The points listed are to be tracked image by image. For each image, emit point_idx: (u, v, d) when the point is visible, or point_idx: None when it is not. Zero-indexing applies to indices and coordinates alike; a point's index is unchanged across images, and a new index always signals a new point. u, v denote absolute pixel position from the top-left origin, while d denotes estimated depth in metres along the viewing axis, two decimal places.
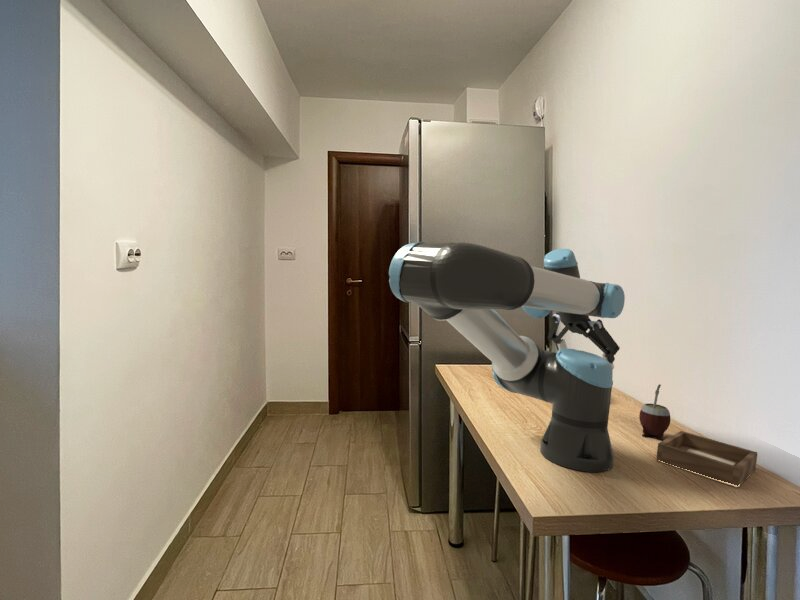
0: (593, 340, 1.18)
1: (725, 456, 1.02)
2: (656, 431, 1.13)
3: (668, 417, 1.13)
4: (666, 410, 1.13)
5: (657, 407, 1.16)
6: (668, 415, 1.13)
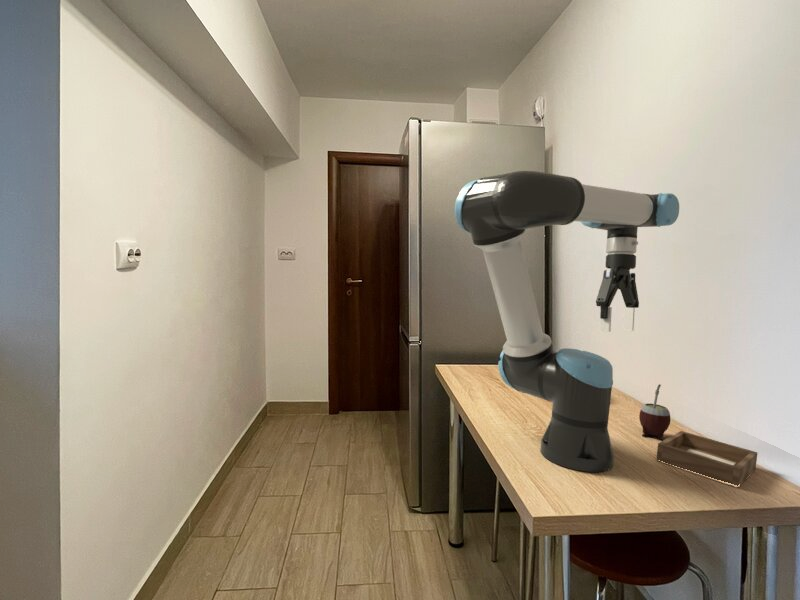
0: None
1: (725, 456, 1.02)
2: (656, 431, 1.13)
3: (668, 417, 1.13)
4: (666, 410, 1.13)
5: (657, 407, 1.16)
6: (668, 415, 1.13)
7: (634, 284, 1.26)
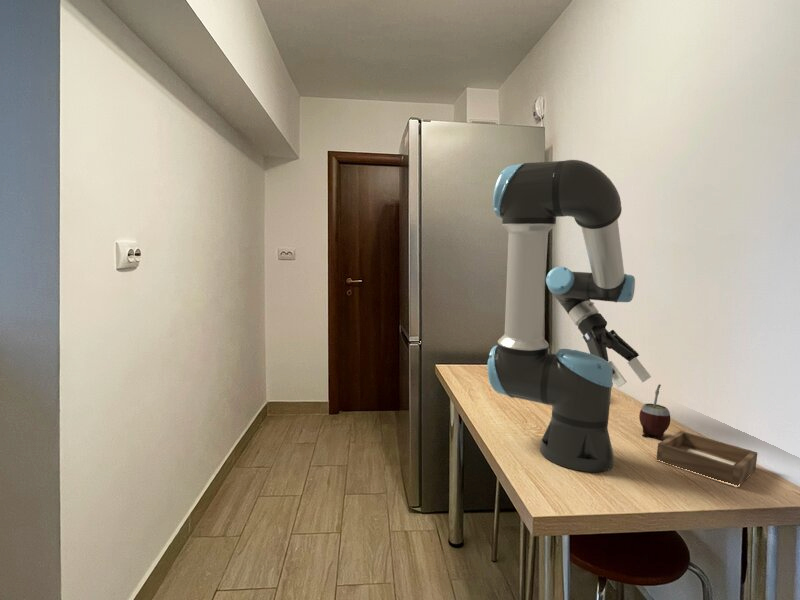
0: None
1: (725, 456, 1.02)
2: (656, 431, 1.13)
3: (668, 417, 1.13)
4: (666, 410, 1.13)
5: (657, 407, 1.16)
6: (668, 415, 1.13)
7: (619, 338, 1.30)
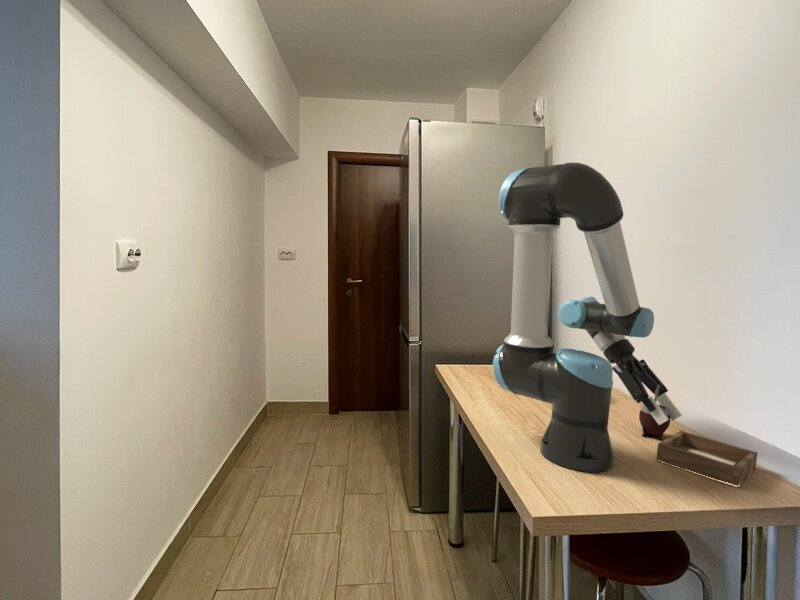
0: None
1: (725, 456, 1.02)
2: (656, 431, 1.13)
3: (668, 417, 1.13)
4: (666, 410, 1.13)
5: None
6: (668, 415, 1.13)
7: (648, 369, 1.22)
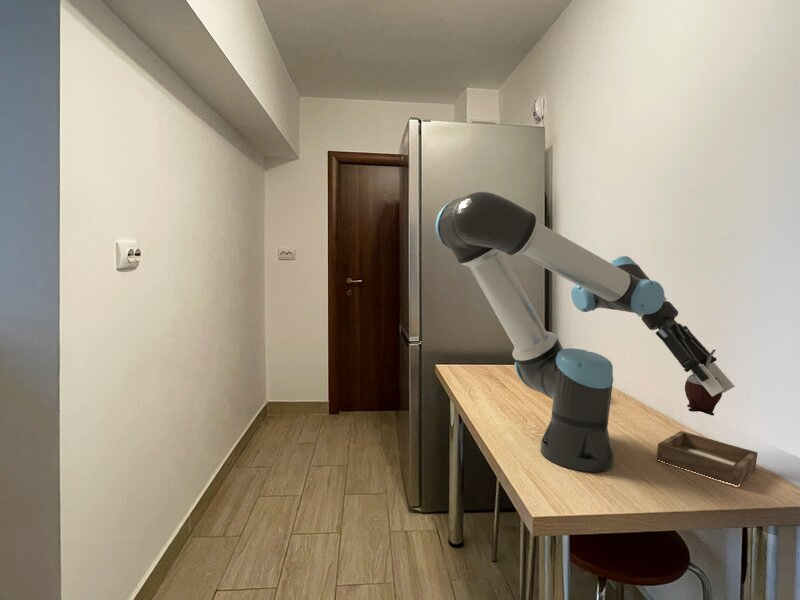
0: None
1: (725, 456, 1.02)
2: (706, 404, 0.98)
3: None
4: (718, 380, 0.99)
5: None
6: None
7: (693, 336, 1.08)
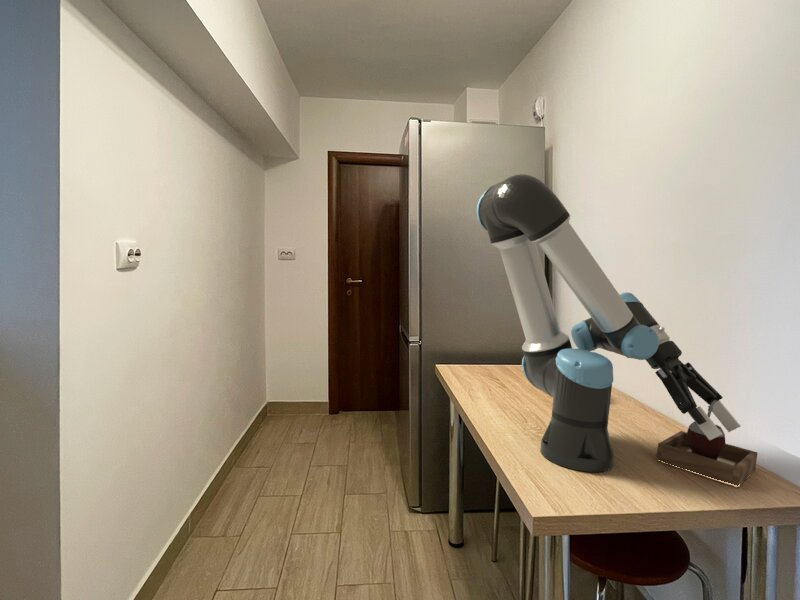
0: None
1: (725, 456, 1.02)
2: (709, 454, 0.96)
3: (723, 438, 0.96)
4: (720, 430, 0.96)
5: None
6: (723, 436, 0.96)
7: (697, 373, 1.06)
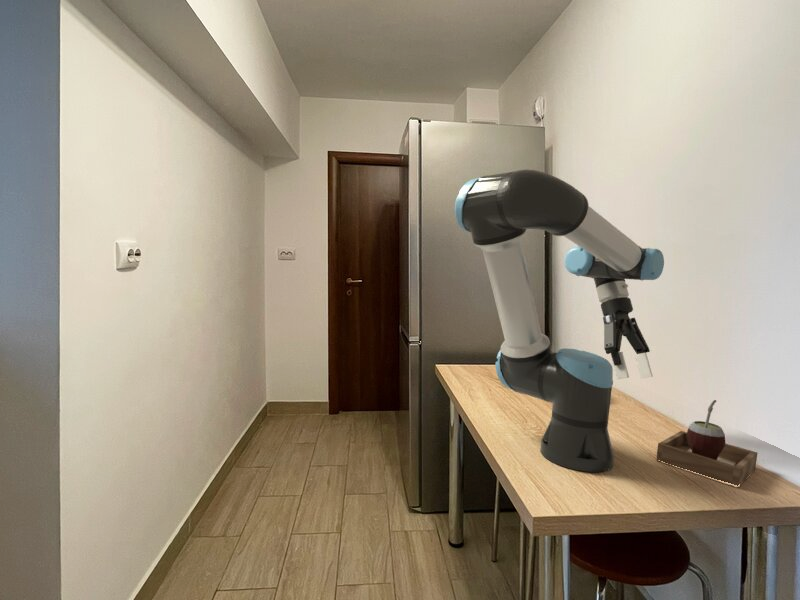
0: None
1: (725, 456, 1.02)
2: (709, 454, 0.96)
3: (723, 438, 0.96)
4: (720, 430, 0.96)
5: (708, 426, 0.99)
6: (723, 436, 0.96)
7: (637, 328, 1.22)
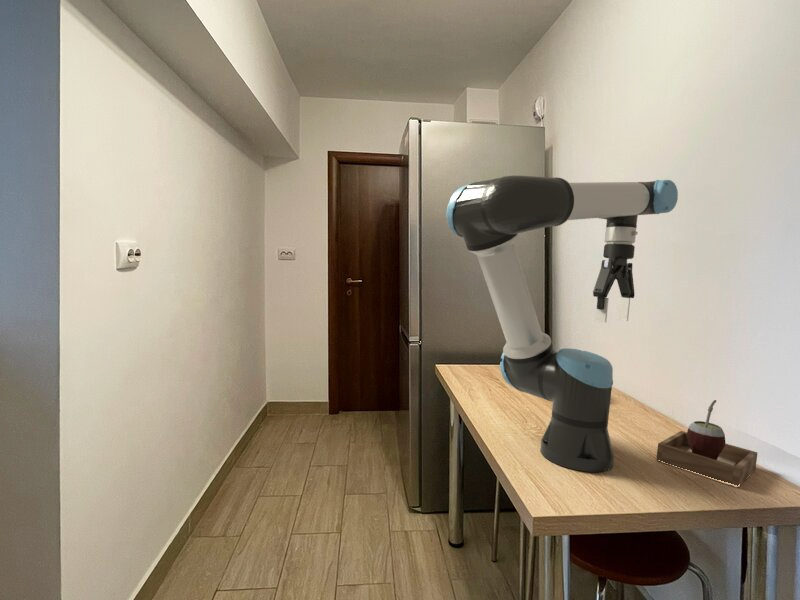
0: None
1: (725, 456, 1.02)
2: (709, 454, 0.96)
3: (723, 438, 0.96)
4: (720, 430, 0.96)
5: (708, 426, 0.99)
6: (723, 436, 0.96)
7: (631, 274, 1.25)
